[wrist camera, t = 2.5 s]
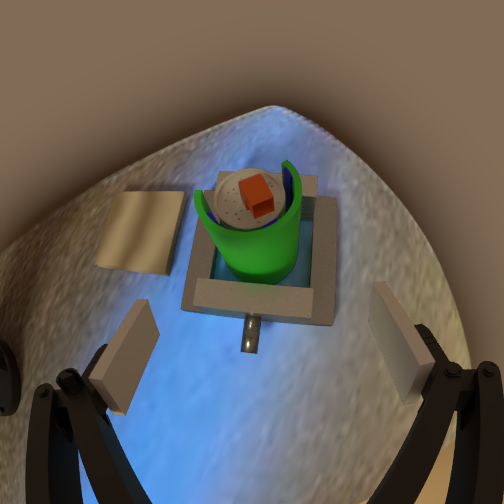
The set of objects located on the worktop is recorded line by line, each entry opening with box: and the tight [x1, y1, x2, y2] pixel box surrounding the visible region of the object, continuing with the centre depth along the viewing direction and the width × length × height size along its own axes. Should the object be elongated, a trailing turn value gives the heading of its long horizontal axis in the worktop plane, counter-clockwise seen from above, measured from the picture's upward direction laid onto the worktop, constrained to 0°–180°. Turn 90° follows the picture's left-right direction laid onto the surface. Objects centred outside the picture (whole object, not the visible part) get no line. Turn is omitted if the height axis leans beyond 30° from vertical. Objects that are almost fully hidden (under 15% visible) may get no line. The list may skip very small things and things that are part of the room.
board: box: [94, 191, 187, 276], centre depth 39 cm, size 12×12×2 cm
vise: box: [181, 171, 337, 354], centre depth 33 cm, size 18×21×6 cm
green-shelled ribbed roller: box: [194, 160, 302, 285], centre depth 28 cm, size 9×8×18 cm
